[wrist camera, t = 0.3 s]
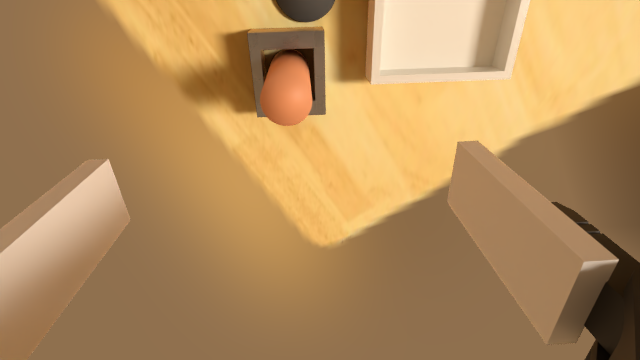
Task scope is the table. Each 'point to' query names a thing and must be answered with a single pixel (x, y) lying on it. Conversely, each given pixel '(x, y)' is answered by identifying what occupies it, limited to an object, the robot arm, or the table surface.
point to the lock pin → (287, 89)
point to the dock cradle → (442, 40)
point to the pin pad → (305, 9)
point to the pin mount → (288, 40)
